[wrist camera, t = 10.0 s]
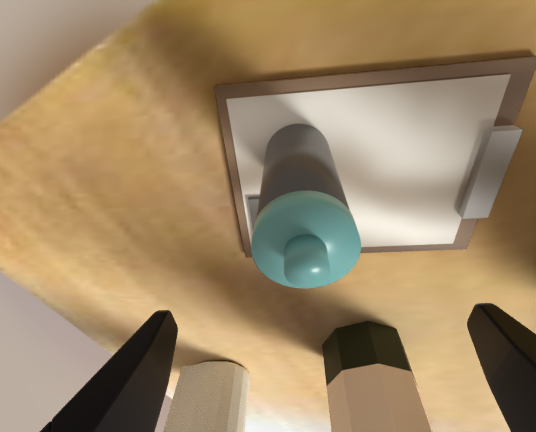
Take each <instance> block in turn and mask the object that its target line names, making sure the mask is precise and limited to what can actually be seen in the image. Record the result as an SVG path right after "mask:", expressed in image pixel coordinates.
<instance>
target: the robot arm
mask: <svg viewBox="0 0 536 432" xmlns="http://www.w3.org/2000/svg"><path fill="white" fill-rule="evenodd" d="M467 327H468V331H469V333H470V336H471V339H472V342H473V344H474V347H475V350H476V353H477V355H478V358H479V361H480V364H481V366H482V369H483V372H484V375H485V377H486V380H487V382H488V384H489V387H490V389H491V391H492V393H493V395H494V397H495V399H496V402H497V404H498V406H499V408H500V410H501V412H502V414H503V416H504V418H505V420H506V422H507V424H508V426H509V428H510V431H511V432H536V334H535V333H533V332H532V331H531V330H529V329H528V328H526V327H525V326H524V325H522V324H521V323H520V322H518V321H517V320H515V319H514V318H513V317H511V316H510V315H508V314H507V313H506V312H504V311H503V310H502V309H500V308H499V307H497V306H496V305H494V304H491V303H479V304H476V305H475V306H474V308H473V310H472V312H471V314H470V316H469V319H468V321H467ZM177 333H178V328H177V324H176V322H175V320H174V318H173V315H172V313H171V312H170V311H169V310H159V311H156V312H155V313H154V314H153V315H152V316H151V317H150V318H149V319H148V320H147V321H146V322H145V323H144V324H143V325H142V326H141V327H140V328H139V329H138V330H137V331H136V332H135V333H134V335H133V336H132V337H131V338H130V339H129V340H128V341H127V342H126V343H125V344H124V345H123V346H122V347H121V348H120V349H119V350H118V351H117V352H116V353H115V354H114V355H113V356H112V357H111V359H109V360H108V362H107V363H106V364H105V365H104V366H103V367H102V368H101V369H100V370H99V371H98V372H97V373H96V374H95V375H94V376H93V377H92V378H91V379H90V380H89V381H88V382H87V383H86V384H85V385H84V387H83V388H82V389H81V390H80V391H79V392H78V393H77V394H76V395H75V396H74V397H73V398H72V399H71V400H70V401H69V402H68V403H67V404H66V405H65V406H64V407H63V408H62V409H61V411H59V413H57V414H56V416H55V417H54V418H53V419H52V422H49V423H48V424H47V425H46V426H45V427H44V428H43V429H42V430H41V431H40V432H154V431H155V428H156V425H157V421H158V418H159V414H160V411H161V407H162V403H163V400H164V397H165V393H166V390H167V386H168V382H169V377H170V372H171V367H172V361H173V355H174V350H175V344H176V339H177Z"/></svg>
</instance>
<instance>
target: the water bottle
mask: <svg viewBox="0 0 536 432" xmlns="http://www.w3.org/2000/svg"><path fill="white" fill-rule="evenodd" d="M251 252H252V257H253V260H254V262H255V264H256V266H257V267H258V269H259V270H260V271H261V272H262V273H263V274H264V275H265V276H267V277H268V278H269V279H271V280H273V281H275V282H277V283H279V284H281V285H285V286H288V287H293V288H316V287H321V286H325V285H328V284H331V283H333V282H335V281H337V280H339V279H340V278H342V277H343V276H345V275H346V274H347V273H348V272H349V271H350V270H351V269H352V268H353V267H354V266H355V264H356V262H357V261H358V258H359V256H360V252H361V240H360V236H359V233H358V230H357V227H356V224H355V221H354V218H353V215H352V214H351V212H350V209H349V206H348V203H347V200H346V197H345V194H344V191H343V188H342V185H341V182H340V179H339V176H338V172H337V169H336V166H335V163H334V160H333V157H332V154H331V151H330V148H329V145H328V142H327V140H326V138H325V137H324V135H323V134H322V133H321V132H320V131H319V130H318V129H316V128H314V127H312V126H310V125H306V124H291V125H288V126H285V127H283V128H281V129H280V130H278V131H277V132H276V133H275V134H274V135H273V136H272V137H271V139H270V141H269V142H268V145H267V149H266V155H265V162H264V169H263V176H262V183H261V190H260V197H259V204H258V211H257V218H256V221H255V225H254V230H253V237H252V244H251Z"/></svg>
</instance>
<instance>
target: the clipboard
mask: <svg viewBox="0 0 536 432" xmlns="http://www.w3.org/2000/svg"><path fill="white" fill-rule="evenodd" d="M535 69H536V56H526V57H515V58H504V59H494V60H483V61H472V62H461V63H451V64H440V65H429V66H418V67H408V68H397V69H386V70H375V71H365V72H354V73H343V74H332V75H322V76H311V77H300V78H289V79H279V80H268V81H257V82H246V83H236V84H225V85H215V86H214V90H215V95H216V101H217V106H218V111H219V117H220V122H221V127H222V133H223V138H224V144H225V149H226V154H227V160H228V165H229V170H230V176H231V181H232V187H233V192H234V197H235V203H236V208H237V213H238V219H239V224H240V230H241V235H242V240H243V246H244V251H245V256H246V257H252V252H251V244H252V237H253V230H254V225H255V221H256V218H257V211H258V204H259V197H260V190H261V183H262V176H263V169H264V162H265V155H266V149H267V145H268V142H269V141H270V139H271V137H272V136H273V135H274V134H275V133H276V132H277V131H278V130H280V129H281V128H283V127H285V126H288V125H291V124H306V125H310V126H312V127H314V128H316V129H318V130H319V131H320V132H321V133H322V134H323V135H324V137H325V138H326V140H327V142H328V145H329V148H330V151H331V154H332V157H333V160H334V163H335V166H336V169H337V172H338V176H339V179H340V182H341V185H342V188H343V191H344V194H345V197H346V200H347V203H348V206H349V209H350V212H351V214H352V215H353V218H354V221H355V224H356V227H357V230H358V233H359V236H360V240H361V252H360V253H375V252H402V251H429V250H457V249H467V247H468V244H469V242H470V239H471V237H472V234H473V231H474V229H475V226H476V223H477V221H478V218H488V216H489V213H490V211H491V208H492V206H493V203H494V201H495V198H496V196H497V193H498V191H499V188H500V186H501V183H502V181H503V179H504V176H505V174H506V171H507V169H508V166H509V164H510V161H511V159H512V156H513V154H514V151H515V149H516V146H517V144H518V141H519V139H520V136H521V134H522V131H523V129H521V128H519V127H517V126H515V125H514V124H515V121H516V119H517V116H518V113H519V111H520V108H521V106H522V103H523V100H524V98H525V95H526V92H527V90H528V87H529V85H530V82H531V79H532V77H533V74H534V71H535Z"/></svg>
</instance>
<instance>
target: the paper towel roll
mask: <svg viewBox="0 0 536 432" xmlns="http://www.w3.org/2000/svg"><path fill="white" fill-rule="evenodd" d="M249 381H250V378H249V373H248V371H247V370H246V369H245V368H244V367H242V366H240V365H238V364H235V363H231V362H226V361H215V362H203V363H200V364H196V365H190V366H182V369H181V372H180V376H179V379H178V383H177V386H176V390H175V393H174V397H173V400H172V404H171V407H170V410H169V414H168V418H167V421H166V425H165V428H164V431H163V432H245V422H246V412H247V402H248V391H249Z"/></svg>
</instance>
